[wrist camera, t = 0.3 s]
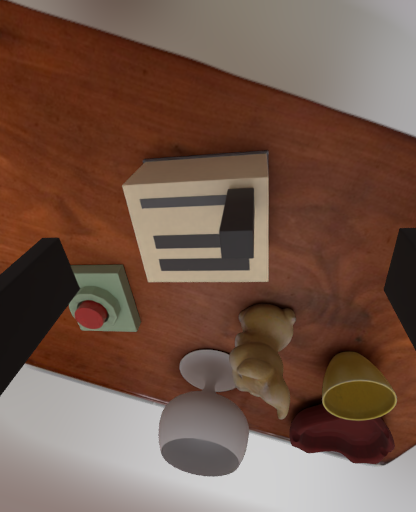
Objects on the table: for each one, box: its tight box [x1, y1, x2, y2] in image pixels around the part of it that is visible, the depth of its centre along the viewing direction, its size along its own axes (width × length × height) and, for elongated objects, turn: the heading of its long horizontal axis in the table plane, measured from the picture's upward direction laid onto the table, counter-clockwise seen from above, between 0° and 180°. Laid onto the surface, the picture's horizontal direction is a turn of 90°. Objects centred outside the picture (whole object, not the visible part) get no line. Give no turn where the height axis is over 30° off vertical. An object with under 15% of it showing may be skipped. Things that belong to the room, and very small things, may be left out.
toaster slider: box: [219, 188, 255, 259], centre depth 26 cm, size 2×2×8 cm
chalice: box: [159, 350, 249, 476], centre depth 51 cm, size 14×14×15 cm
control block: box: [69, 265, 141, 332], centre depth 48 cm, size 12×10×4 cm
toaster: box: [122, 150, 269, 282], centre depth 35 cm, size 12×14×8 cm
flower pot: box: [322, 352, 397, 421], centre depth 48 cm, size 10×10×7 cm
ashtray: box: [290, 403, 395, 464], centre depth 57 cm, size 18×16×5 cm
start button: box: [75, 300, 108, 329], centre depth 46 cm, size 4×4×2 cm
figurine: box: [229, 304, 296, 419], centre depth 42 cm, size 10×8×15 cm
